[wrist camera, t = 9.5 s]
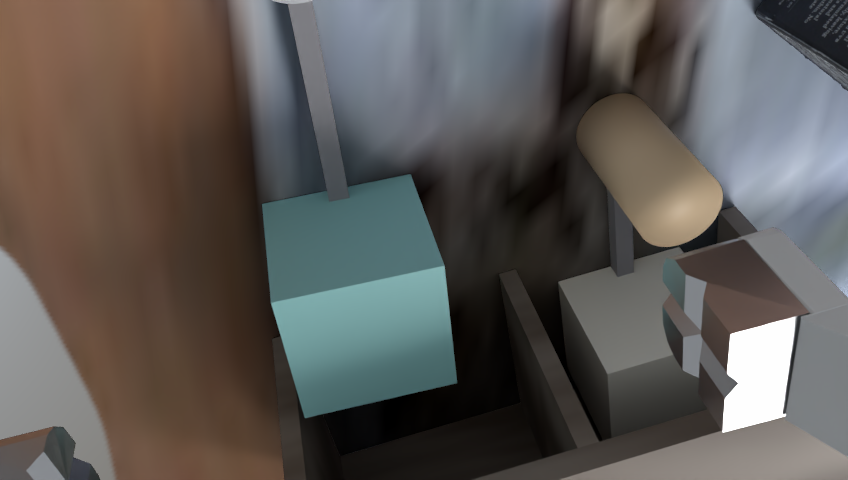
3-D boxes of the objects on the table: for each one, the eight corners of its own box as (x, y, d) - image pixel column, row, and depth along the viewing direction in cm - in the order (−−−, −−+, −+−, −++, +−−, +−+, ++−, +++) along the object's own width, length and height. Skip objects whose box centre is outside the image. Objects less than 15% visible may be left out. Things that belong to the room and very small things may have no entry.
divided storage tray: (724, 352, 43) (851, 530, 35) (329, 469, 42) (359, 683, 34) (735, 206, 37) (893, 378, 28) (272, 338, 36) (291, 560, 27)
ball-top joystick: (425, 285, 36) (457, 383, 31) (292, 314, 35) (304, 418, 31) (363, -189, 24) (400, -146, 20) (162, -158, 24) (150, -107, 19)
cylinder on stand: (677, 334, 42) (736, 423, 37) (567, 366, 41) (612, 460, 37) (683, 75, 32) (763, 150, 27) (540, 114, 32) (597, 197, 27)
